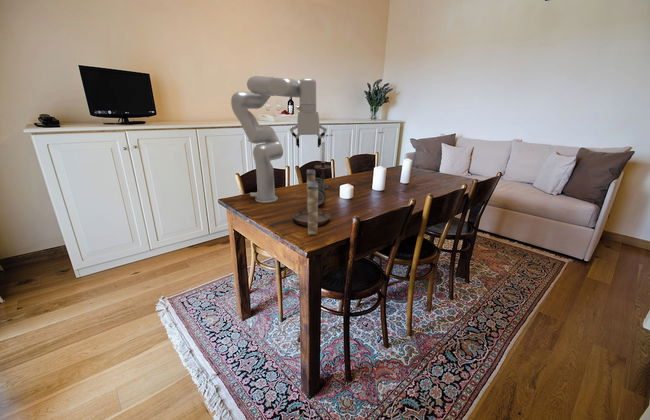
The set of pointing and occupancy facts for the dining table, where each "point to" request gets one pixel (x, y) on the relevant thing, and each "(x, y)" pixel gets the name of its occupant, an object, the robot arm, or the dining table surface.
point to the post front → (312, 208)
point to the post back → (310, 180)
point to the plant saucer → (303, 217)
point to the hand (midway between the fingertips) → (308, 147)
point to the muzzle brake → (320, 190)
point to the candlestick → (323, 163)
